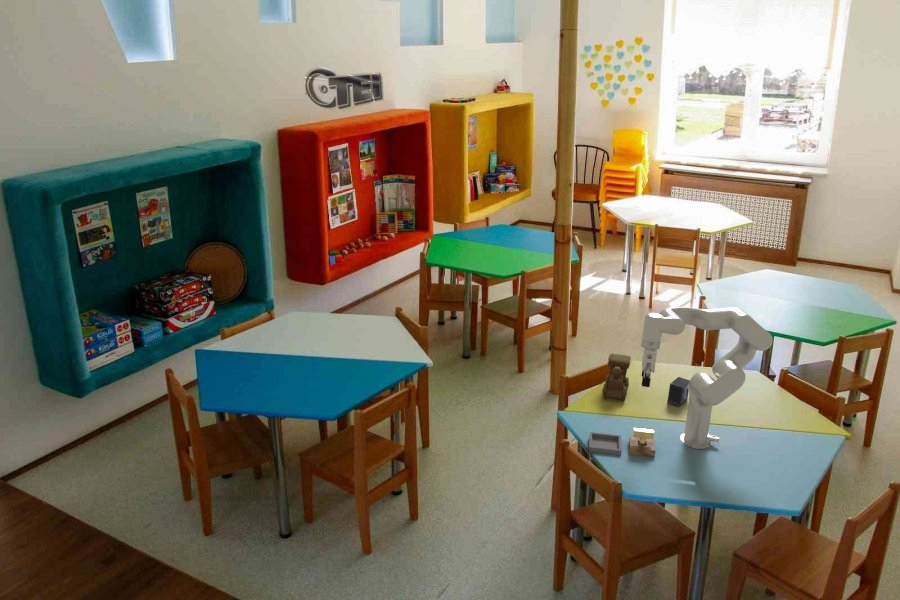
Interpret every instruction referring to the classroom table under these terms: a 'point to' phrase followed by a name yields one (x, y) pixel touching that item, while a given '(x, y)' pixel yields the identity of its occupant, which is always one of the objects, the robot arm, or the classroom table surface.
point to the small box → (678, 391)
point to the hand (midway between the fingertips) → (645, 381)
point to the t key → (643, 435)
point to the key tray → (605, 443)
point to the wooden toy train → (617, 377)
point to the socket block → (641, 447)
